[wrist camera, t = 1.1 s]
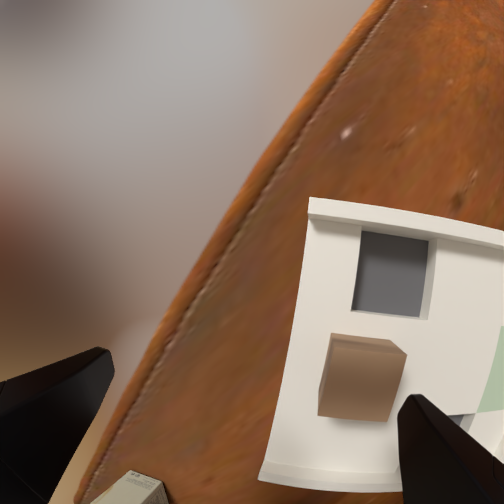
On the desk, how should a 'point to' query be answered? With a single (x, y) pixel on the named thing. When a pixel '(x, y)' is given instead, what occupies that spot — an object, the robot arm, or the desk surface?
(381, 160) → the desk surface
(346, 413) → the block
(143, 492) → the skincare box
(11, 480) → the robot arm
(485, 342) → the platform
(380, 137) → the desk surface
